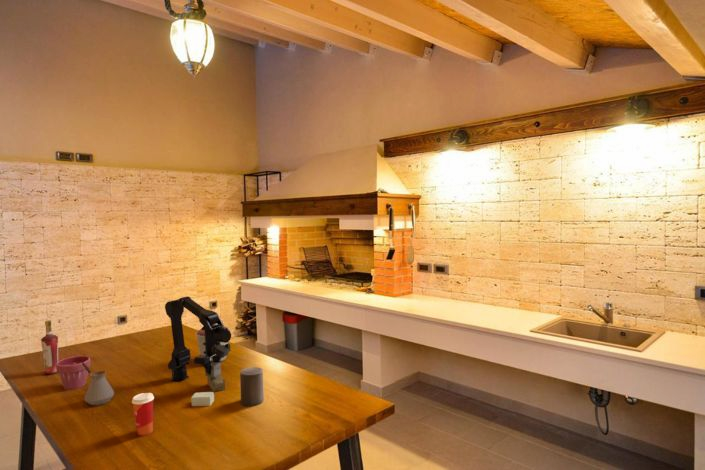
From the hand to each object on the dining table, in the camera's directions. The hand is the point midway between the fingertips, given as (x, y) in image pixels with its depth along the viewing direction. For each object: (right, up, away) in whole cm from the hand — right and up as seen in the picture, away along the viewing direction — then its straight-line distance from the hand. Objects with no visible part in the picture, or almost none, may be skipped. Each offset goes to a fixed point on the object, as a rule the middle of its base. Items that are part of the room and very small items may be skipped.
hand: (213, 372), depth 207 cm
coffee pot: (-51, -10, -8) cm, 53 cm away
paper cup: (-14, -11, -39) cm, 43 cm away
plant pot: (-70, -9, +8) cm, 71 cm away
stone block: (+1, -8, +1) cm, 8 cm away
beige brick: (+1, -9, -16) cm, 18 cm away
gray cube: (0, -1, 0) cm, 1 cm away
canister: (-11, -5, +38) cm, 40 cm away
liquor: (-94, -9, +26) cm, 98 cm away
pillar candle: (+22, -8, -15) cm, 28 cm away
